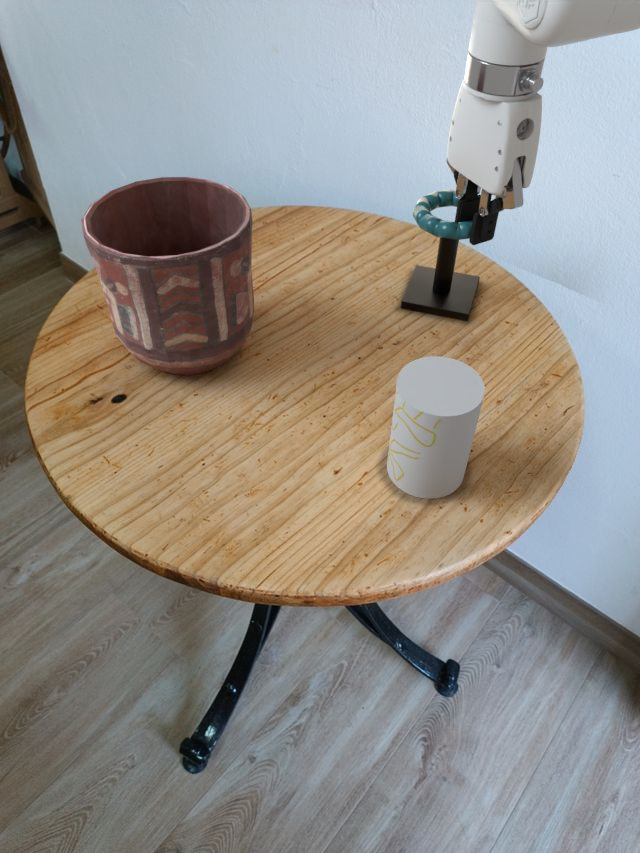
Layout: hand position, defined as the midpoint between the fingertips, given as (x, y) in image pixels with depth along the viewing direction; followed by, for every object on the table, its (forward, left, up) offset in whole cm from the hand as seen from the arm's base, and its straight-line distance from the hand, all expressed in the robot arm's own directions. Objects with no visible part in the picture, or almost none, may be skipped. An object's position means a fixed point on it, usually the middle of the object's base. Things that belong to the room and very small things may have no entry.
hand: (473, 234), depth 83 cm
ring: (+3, -3, +1) cm, 4 cm away
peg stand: (+3, -3, -12) cm, 12 cm away
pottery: (+31, +17, -12) cm, 37 cm away
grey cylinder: (-1, +28, -12) cm, 30 cm away
